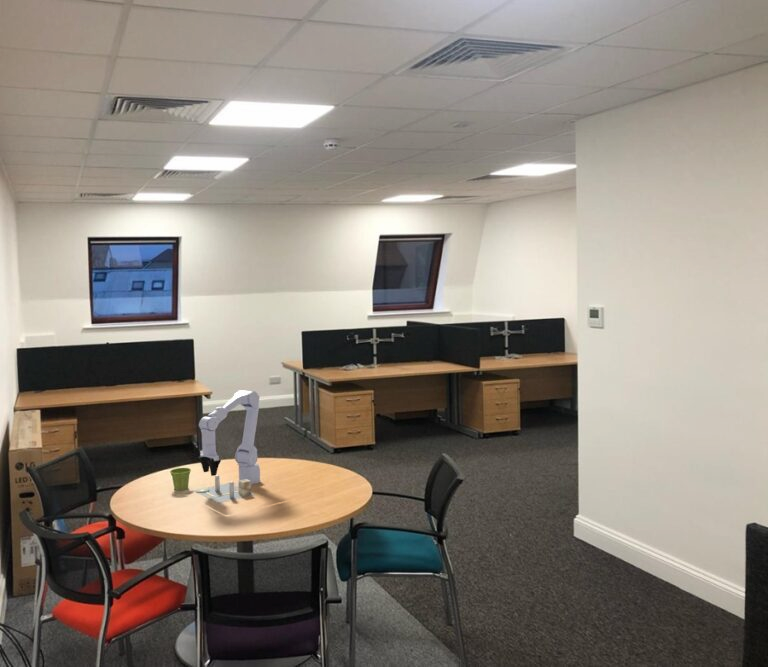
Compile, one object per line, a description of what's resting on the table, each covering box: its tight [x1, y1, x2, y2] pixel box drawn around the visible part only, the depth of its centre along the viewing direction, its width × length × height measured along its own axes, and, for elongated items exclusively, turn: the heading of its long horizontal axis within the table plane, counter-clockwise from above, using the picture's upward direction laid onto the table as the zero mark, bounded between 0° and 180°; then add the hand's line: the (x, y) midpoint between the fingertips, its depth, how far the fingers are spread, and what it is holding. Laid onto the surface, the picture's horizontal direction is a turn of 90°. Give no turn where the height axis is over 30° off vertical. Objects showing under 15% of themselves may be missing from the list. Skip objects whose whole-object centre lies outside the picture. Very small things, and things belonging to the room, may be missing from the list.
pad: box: [195, 487, 210, 494], centre depth 330 cm, size 6×6×1 cm
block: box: [237, 479, 252, 496], centre depth 324 cm, size 4×4×6 cm
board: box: [193, 474, 256, 504], centre depth 327 cm, size 18×24×8 cm
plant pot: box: [169, 467, 192, 491], centre depth 336 cm, size 9×9×9 cm
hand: (209, 473), depth 325 cm, fingers open, 7 cm apart
